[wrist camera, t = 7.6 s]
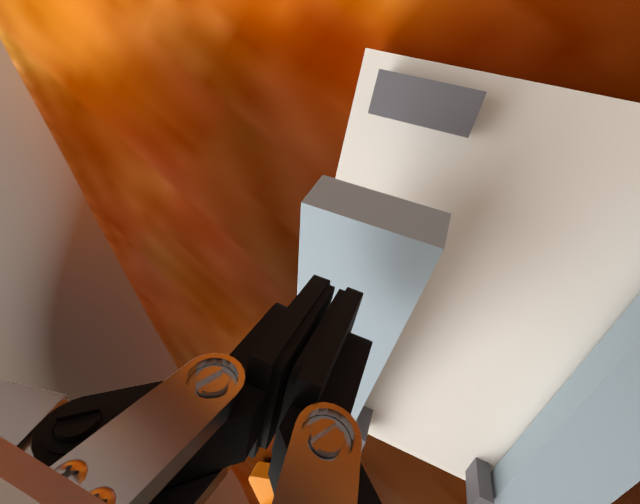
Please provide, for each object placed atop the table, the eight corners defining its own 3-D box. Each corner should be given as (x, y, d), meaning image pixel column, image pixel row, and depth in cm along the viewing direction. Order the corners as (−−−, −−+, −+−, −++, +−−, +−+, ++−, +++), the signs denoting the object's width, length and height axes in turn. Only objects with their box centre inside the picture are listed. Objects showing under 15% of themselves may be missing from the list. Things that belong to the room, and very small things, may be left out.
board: (551, 487, 27) (576, 575, 22) (297, 371, 32) (269, 420, 27) (876, 160, 15) (1117, 183, 9) (375, 56, 20) (351, 35, 15)
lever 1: (354, 413, 27) (347, 437, 26) (301, 389, 28) (291, 410, 27) (451, 213, 11) (444, 249, 10) (322, 175, 12) (300, 202, 11)
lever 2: (556, 508, 24) (565, 539, 22) (487, 475, 25) (490, 502, 23) (841, 255, 13) (898, 276, 12) (701, 219, 15) (735, 233, 13)
